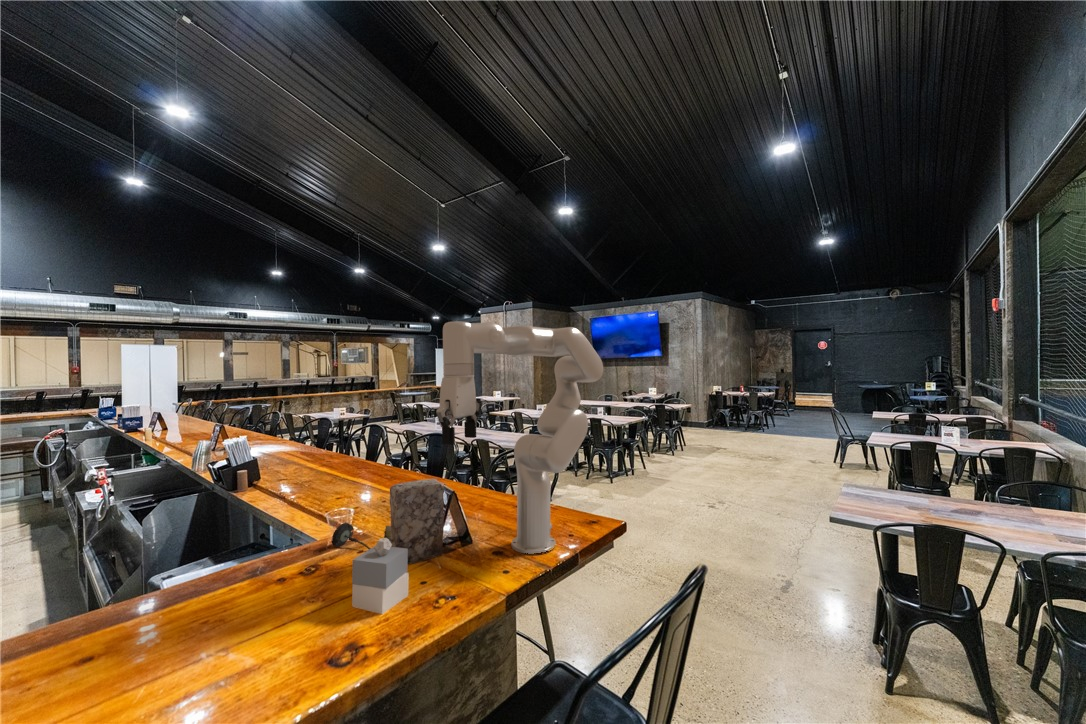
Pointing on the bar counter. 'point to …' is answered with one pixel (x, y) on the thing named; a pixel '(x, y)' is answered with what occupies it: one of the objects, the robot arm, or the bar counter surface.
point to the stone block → (417, 518)
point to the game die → (383, 546)
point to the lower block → (380, 595)
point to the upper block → (379, 567)
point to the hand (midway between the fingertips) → (459, 440)
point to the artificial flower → (345, 532)
